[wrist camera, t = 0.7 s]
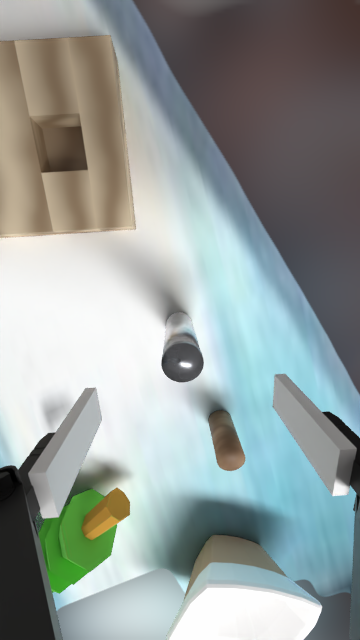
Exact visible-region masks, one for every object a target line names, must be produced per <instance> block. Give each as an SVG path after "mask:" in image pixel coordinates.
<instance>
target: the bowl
mask: <svg viewBox="0 0 360 640" xmlns="http://www.w3.org/2000/svg"><path fill="white" fill-rule="evenodd" d="M321 609H322V606H321V604H320V602H319V601H317V600H316V599H315V598H314V597H312V596H311V595H310V594H308V593H307V592H306V591H305V590H303V589H302V588H301V587H299V586H298V585H297V584H296V583H294V582H293V581H292V580H291V579H289V578H288V577H287V576H286V575H285V574H284V572H283V571H282V570H281V569H280V568H279V567H278V565H277V564H276V563H275V562H274V561H273V560H272V559H271V557H270V556H269V555H268V554H267V553H266V552H265V550H264V549H263V548H262V547H261V546H260V545H259V544H256V543H254V542H252V541H249V540H246V539H243V538H239V537H233V536H227V535H212V536H211V537H210V538H209V539H208V540H207V541H206V543H205V544H204V546H203V548H202V550H201V551H200V553H199V555H198V557H197V559H196V561H195V564H194V567H193V571H192V574H191V577H190V581H189V584H188V588H187V591H186V594H185V598H184V601H183V603H182V605H181V607H180V609H179V611H178V613H177V615H176V617H175V619H174V621H173V623H172V625H171V627H170V629H169V631H168V633H167V635H166V640H303V639H304V638H305V637H306V636H307V635H308V633H309V632H310V631H311V629H313V627H314V626H315V624H316V622H317V619H318V617H319V615H320V612H321Z"/></svg>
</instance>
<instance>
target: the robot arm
mask: <svg viewBox="0 0 360 640" xmlns="http://www.w3.org/2000/svg"><path fill="white" fill-rule="evenodd" d="M273 408H274V409H275V411H276V412H277V414H278V415H279V417H280V418H281V420H282V421H283V423H284V424H285V426H286V427H287V429H288V430H289V432H290V433H291V435H292V436H293V438H294V439H295V440H296V442H297V443H298V445H299V446H300V448H301V449H302V451H303V452H304V454H305V455H306V457H307V458H308V460H309V461H310V463H311V464H312V466H313V467H314V469H315V470H316V472H317V473H318V475H319V476H320V478H321V479H322V481H323V482H324V484H325V485H326V487H327V488H328V490H329V491H330V493H331V494H332V496H337V495H348V493H349V488H350V485H351V487H352V488H353V489H354V491H355V492H356V493H357V494H356V499H355V504H354V509H353V510H354V511H355V523H354V546H353V569H352V592H351V616H350V618H351V619H350V640H360V438H359V437H358V436H357V435H356V434H355V433H354V432H353V431H351V429H350V428H349V427H348V426H347V425H345V423H344V422H343V421H342V420H341V419H340V418H339V417H337V416H335V415H334V414H332V413H330V412H321V411H320V410H319V409H318V408H317V407H316V406H315V404H314V403H313V402H312V401H311V400H310V399H309V398H308V397H307V396H306V395H305V394H304V393H303V392H302V391H301V390H300V389H299V388H298V387H297V386H296V385H295V384H294V383H293V382H292V381H291V379H290V378H289V377H288V376H287V375H286V374H276V375H275V379H274V396H273ZM101 421H102V416H101V411H100V406H99V401H98V395H97V390H96V388H85V390H84V391H83V393H82V394H81V396H80V397H79V399H78V400H77V402H76V403H75V405H74V406H73V408H72V409H71V411H70V412H69V414H68V415H67V417H66V418H65V420H64V421H63V423H62V424H61V426H60V427H59V428H58V430H57V431H56V433H48V434H47V435H46V436H44V437H43V438H42V439H41V440H40V441H39V442H38V444H37V445H36V446H35V448H34V450H32V452H31V453H30V455H29V456H28V457H27V459H26V460H25V461H24V463H23V464H22V466H21V467H20V468H19V470H18V469H17V468H16V466H12V465H11V466H5V467H3V468H0V640H63V637H62V633H61V629H60V625H59V620H58V616H57V612H56V607H55V603H54V599H53V594H52V590H51V586H50V581H49V577H48V573H47V569H46V564H45V560H44V556H43V551H42V547H41V543H40V538H39V534H38V530H37V526H36V522H35V518H36V516H37V514H38V512H39V510H40V512H41V515H42V518H56V517H59V516H60V513H61V511H62V509H63V507H64V504H65V502H66V500H67V497H68V495H69V493H70V491H71V488H72V486H73V484H74V482H75V479H76V477H77V475H78V473H79V470H80V468H81V466H82V464H83V461H84V459H85V457H86V455H87V452H88V450H89V448H90V446H91V443H92V441H93V439H94V436H95V434H96V432H97V430H98V427H99V425H100V423H101Z"/></svg>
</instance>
